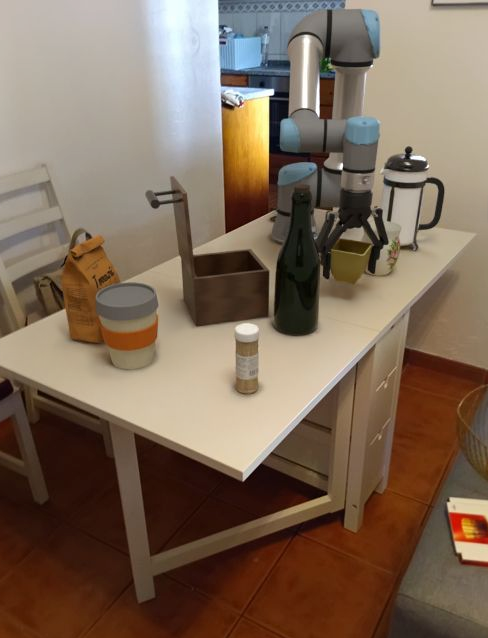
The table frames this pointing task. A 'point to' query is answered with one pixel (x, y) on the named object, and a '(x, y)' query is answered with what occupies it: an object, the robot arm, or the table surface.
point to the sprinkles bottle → (247, 357)
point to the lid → (178, 220)
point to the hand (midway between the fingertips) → (348, 274)
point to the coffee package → (86, 287)
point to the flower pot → (349, 260)
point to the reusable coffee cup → (129, 323)
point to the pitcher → (386, 248)
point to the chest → (226, 287)
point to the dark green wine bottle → (298, 270)
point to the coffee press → (408, 194)
